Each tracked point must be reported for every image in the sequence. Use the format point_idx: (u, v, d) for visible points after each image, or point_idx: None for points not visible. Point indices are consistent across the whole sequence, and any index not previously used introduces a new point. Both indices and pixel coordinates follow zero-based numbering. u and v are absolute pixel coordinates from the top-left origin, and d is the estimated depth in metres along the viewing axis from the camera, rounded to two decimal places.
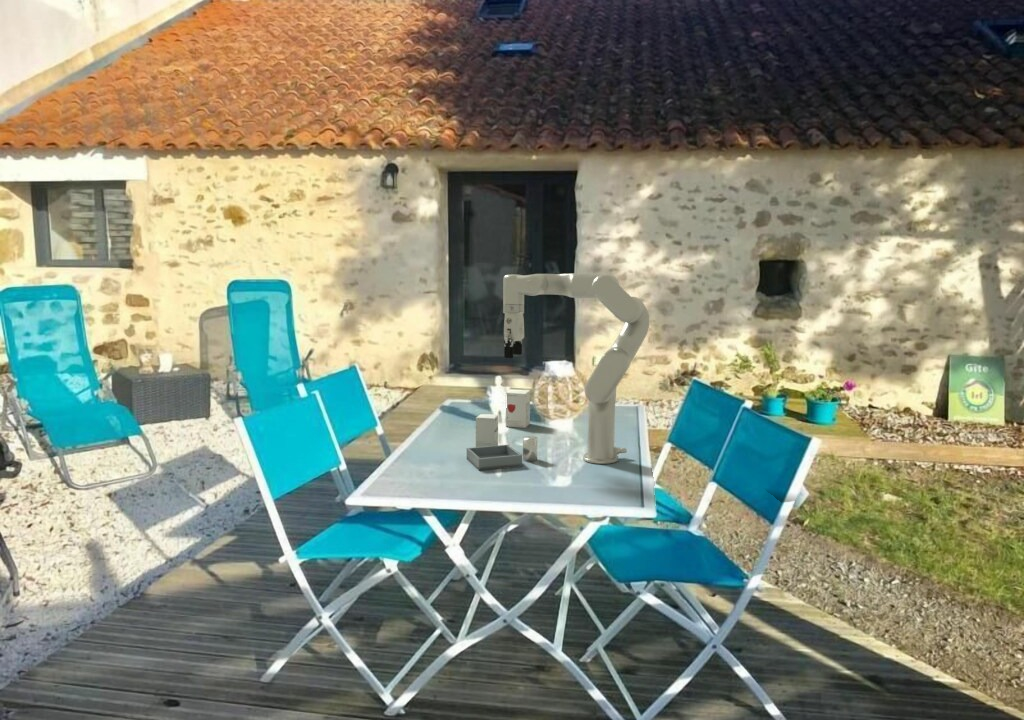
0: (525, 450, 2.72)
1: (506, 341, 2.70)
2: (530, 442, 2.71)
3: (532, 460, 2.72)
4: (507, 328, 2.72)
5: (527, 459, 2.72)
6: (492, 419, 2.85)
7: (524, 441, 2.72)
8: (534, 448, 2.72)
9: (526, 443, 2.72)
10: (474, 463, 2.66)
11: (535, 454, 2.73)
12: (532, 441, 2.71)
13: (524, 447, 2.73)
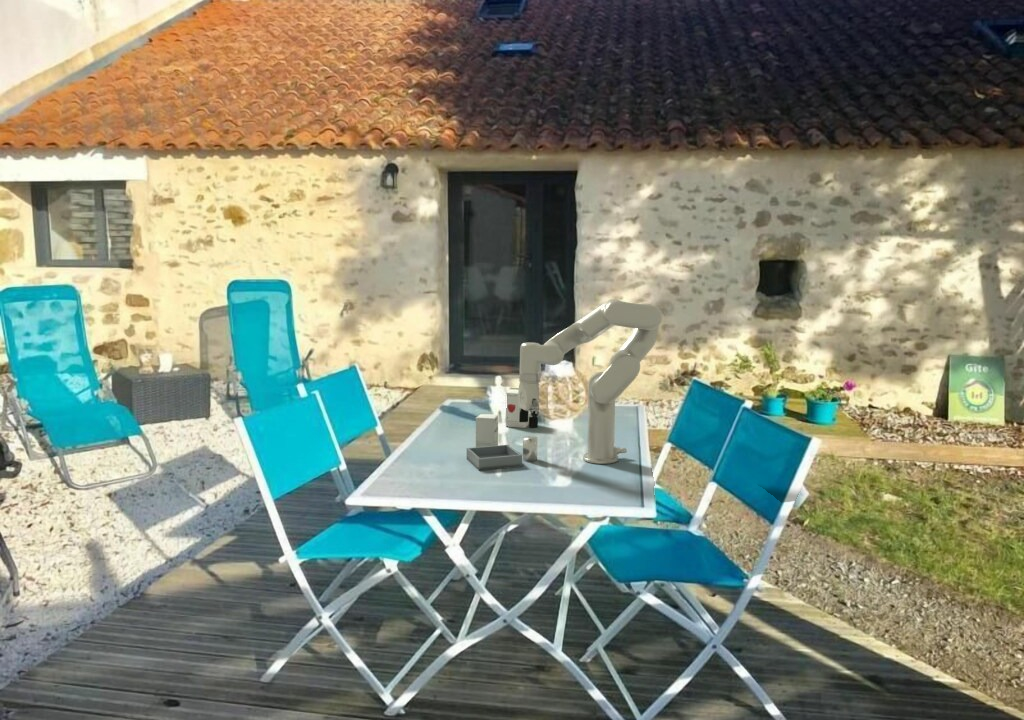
0: (525, 450, 2.72)
1: None
2: (530, 442, 2.71)
3: (532, 460, 2.72)
4: None
5: (527, 459, 2.72)
6: (492, 419, 2.85)
7: (524, 441, 2.72)
8: (534, 448, 2.72)
9: (526, 443, 2.72)
10: (474, 463, 2.66)
11: (535, 454, 2.73)
12: (532, 441, 2.71)
13: (524, 447, 2.73)
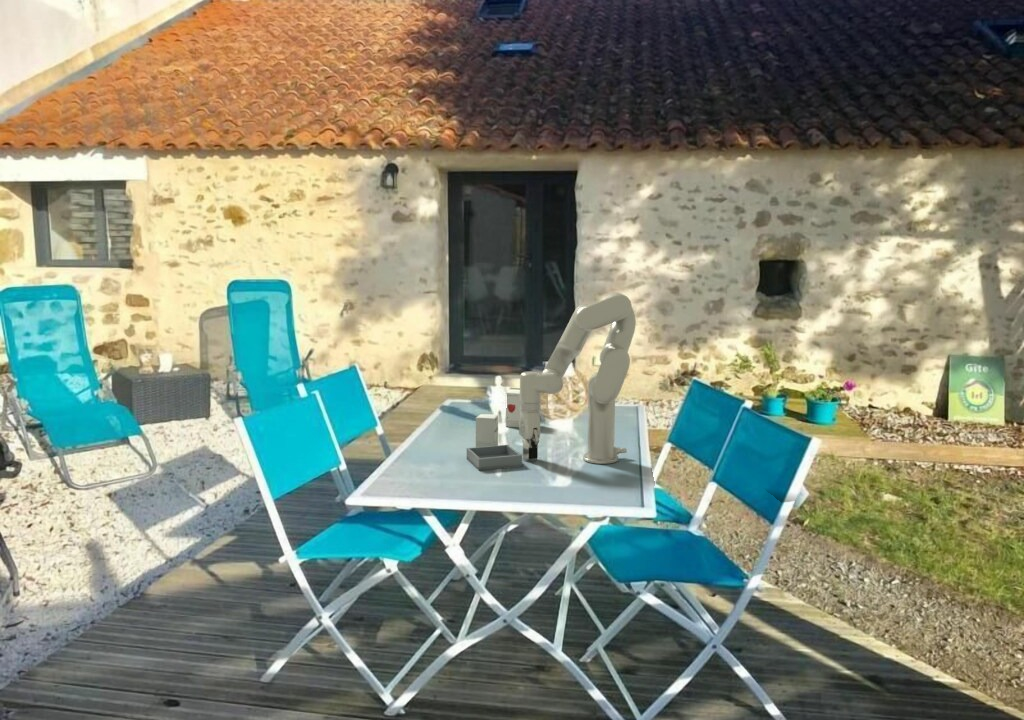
0: (525, 450, 2.72)
1: None
2: None
3: (532, 460, 2.72)
4: None
5: (527, 459, 2.72)
6: (492, 419, 2.85)
7: (524, 441, 2.72)
8: None
9: (526, 443, 2.72)
10: (474, 463, 2.66)
11: None
12: (532, 441, 2.71)
13: (524, 447, 2.73)
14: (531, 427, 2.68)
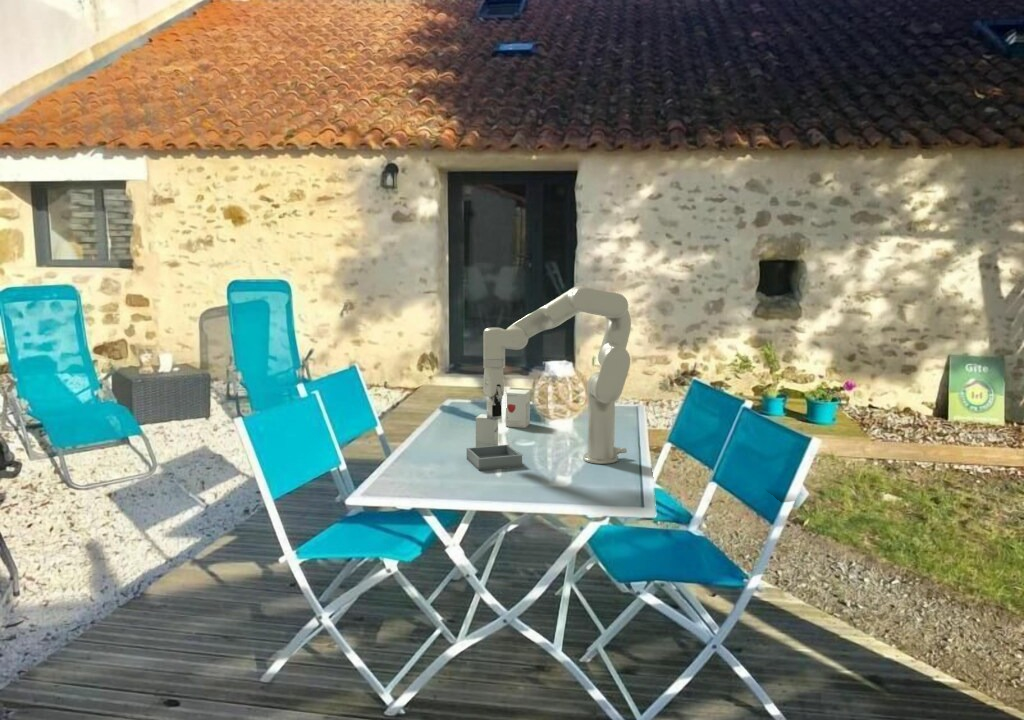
0: (489, 408, 2.66)
1: None
2: None
3: (496, 418, 2.66)
4: None
5: (491, 417, 2.66)
6: None
7: (488, 398, 2.66)
8: None
9: (490, 400, 2.66)
10: (474, 463, 2.66)
11: None
12: (496, 398, 2.65)
13: (488, 405, 2.67)
14: (494, 384, 2.62)
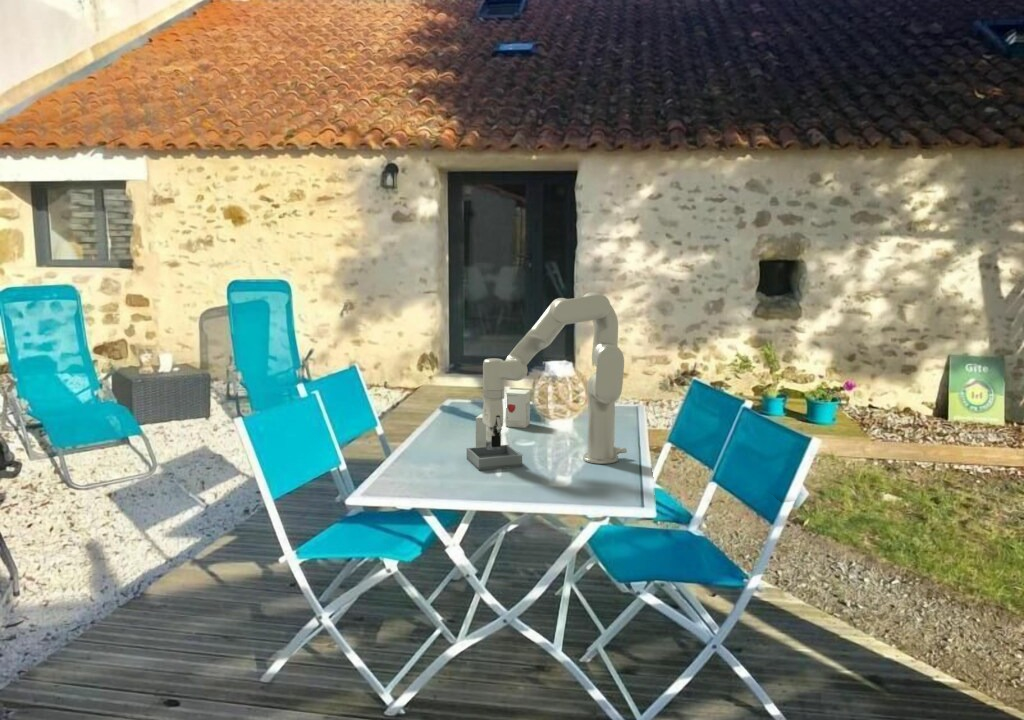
0: (488, 438, 2.68)
1: None
2: None
3: (495, 448, 2.68)
4: None
5: (490, 447, 2.68)
6: None
7: (487, 429, 2.68)
8: None
9: (489, 431, 2.67)
10: (474, 463, 2.66)
11: None
12: (495, 429, 2.67)
13: (487, 435, 2.68)
14: (494, 415, 2.63)
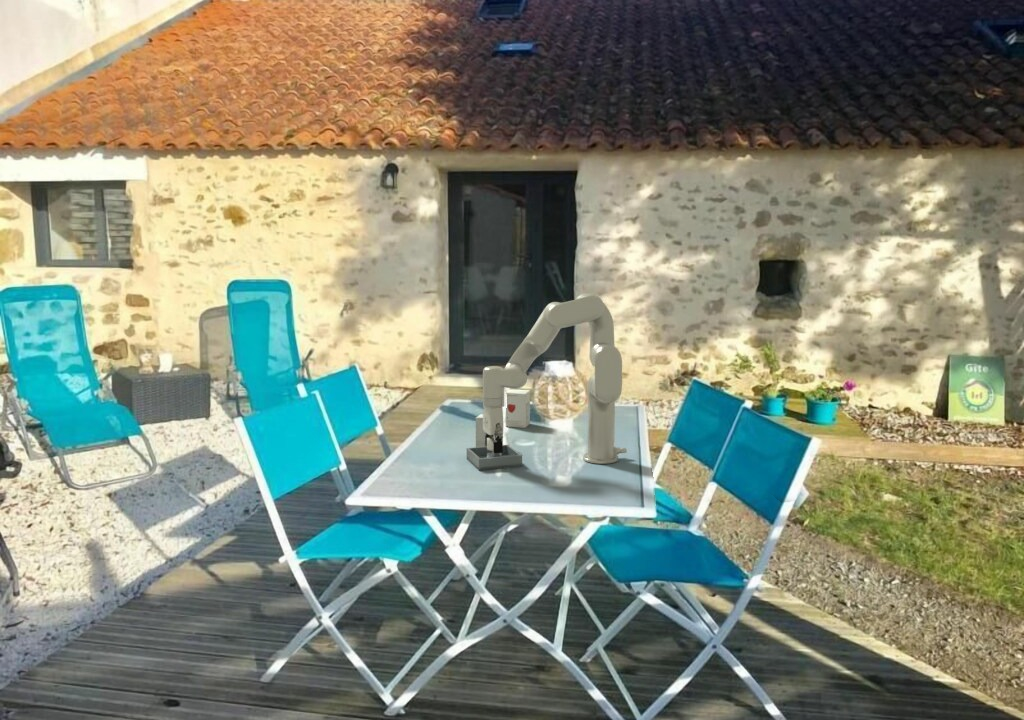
0: (489, 450, 2.68)
1: None
2: None
3: None
4: None
5: None
6: None
7: (488, 441, 2.68)
8: None
9: (490, 443, 2.68)
10: (474, 463, 2.66)
11: (499, 454, 2.69)
12: None
13: (488, 447, 2.69)
14: (494, 423, 2.64)
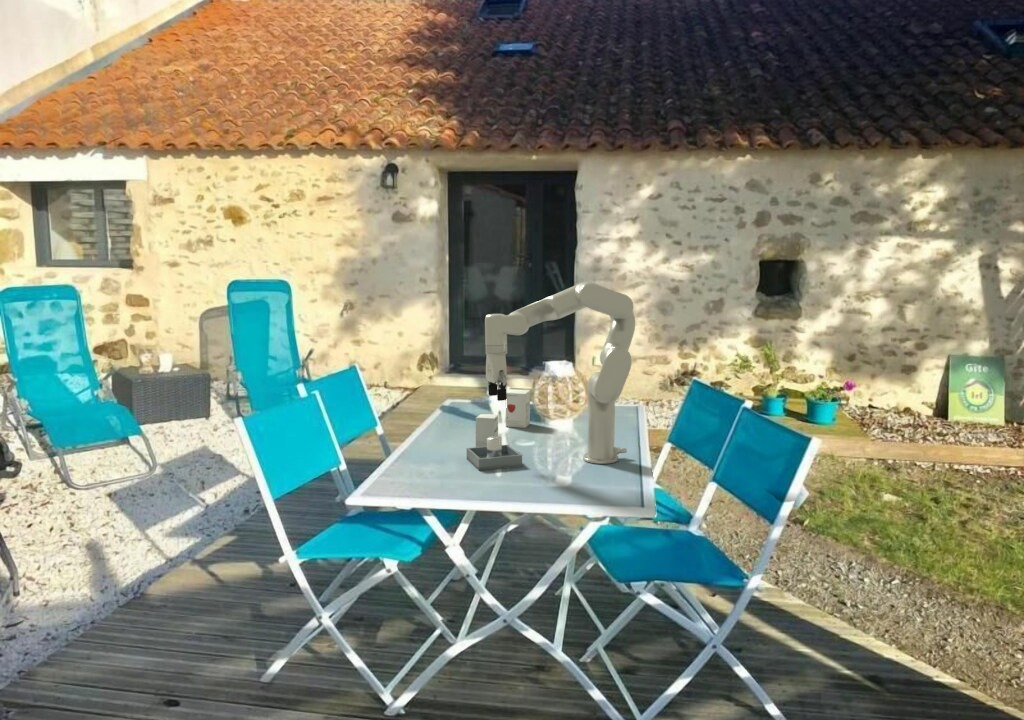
0: (489, 450, 2.68)
1: None
2: (494, 442, 2.67)
3: None
4: None
5: None
6: (492, 419, 2.85)
7: (488, 441, 2.68)
8: (498, 448, 2.68)
9: (490, 443, 2.68)
10: (474, 463, 2.66)
11: (499, 454, 2.69)
12: (496, 441, 2.67)
13: (488, 447, 2.69)
14: (497, 369, 2.62)
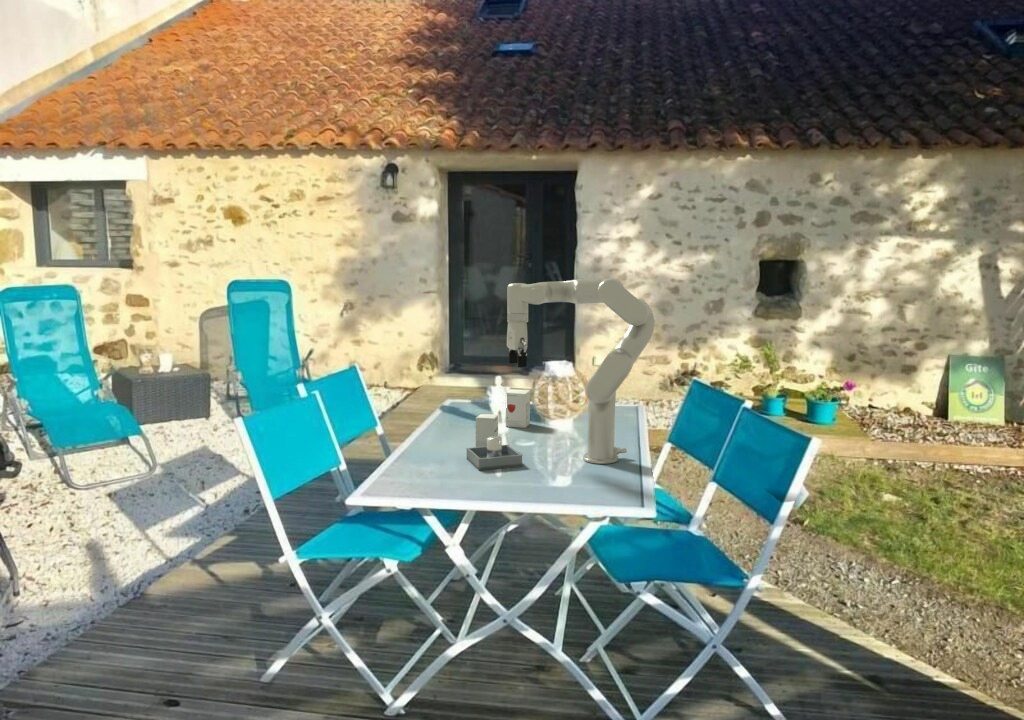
0: (489, 450, 2.68)
1: None
2: (494, 442, 2.67)
3: None
4: None
5: None
6: (492, 419, 2.85)
7: (488, 441, 2.68)
8: (498, 448, 2.68)
9: (490, 443, 2.68)
10: (474, 463, 2.66)
11: (499, 454, 2.69)
12: (496, 441, 2.67)
13: (488, 447, 2.69)
14: (518, 337, 2.70)
